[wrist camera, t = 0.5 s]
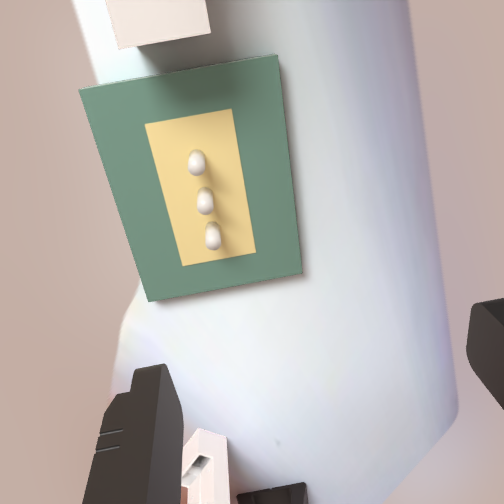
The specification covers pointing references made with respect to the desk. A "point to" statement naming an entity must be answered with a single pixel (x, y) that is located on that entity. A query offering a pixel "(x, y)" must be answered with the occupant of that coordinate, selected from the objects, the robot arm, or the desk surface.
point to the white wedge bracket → (206, 468)
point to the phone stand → (276, 495)
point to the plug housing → (156, 20)
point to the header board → (200, 174)
